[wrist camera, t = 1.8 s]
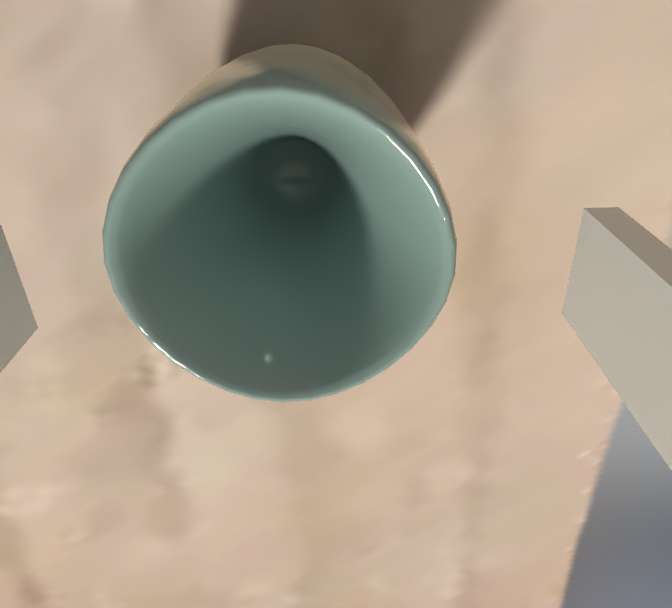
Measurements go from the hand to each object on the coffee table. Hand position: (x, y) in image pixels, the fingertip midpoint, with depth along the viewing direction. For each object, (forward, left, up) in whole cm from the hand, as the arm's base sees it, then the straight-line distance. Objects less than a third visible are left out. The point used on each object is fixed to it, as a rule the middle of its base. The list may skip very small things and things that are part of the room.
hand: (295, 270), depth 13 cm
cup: (0, 0, -10) cm, 10 cm away
